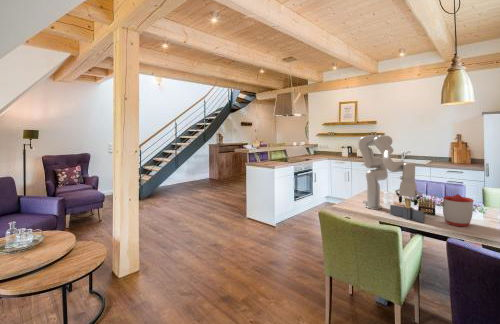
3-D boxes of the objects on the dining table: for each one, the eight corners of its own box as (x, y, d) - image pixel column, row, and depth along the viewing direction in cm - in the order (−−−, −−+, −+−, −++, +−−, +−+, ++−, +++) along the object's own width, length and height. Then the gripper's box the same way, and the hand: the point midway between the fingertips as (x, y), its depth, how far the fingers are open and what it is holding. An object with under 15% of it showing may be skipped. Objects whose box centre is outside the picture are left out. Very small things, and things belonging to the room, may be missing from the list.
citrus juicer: (439, 218, 181) (440, 190, 179) (472, 222, 170) (473, 193, 168) (438, 224, 169) (438, 194, 167) (473, 229, 158) (474, 198, 156)
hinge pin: (404, 218, 184) (404, 199, 182) (406, 217, 186) (406, 198, 184) (409, 219, 181) (409, 199, 180) (411, 218, 183) (411, 198, 182)
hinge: (387, 215, 190) (387, 205, 190) (392, 213, 195) (392, 203, 194) (423, 223, 172) (424, 212, 171) (428, 220, 176) (428, 210, 176)
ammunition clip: (417, 212, 195) (418, 197, 193) (418, 212, 196) (418, 196, 195) (434, 215, 187) (435, 199, 186) (435, 214, 188) (435, 198, 187)
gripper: (393, 179, 185) (392, 202, 187) (420, 182, 172) (419, 207, 174) (397, 178, 190) (397, 200, 192) (424, 180, 176) (423, 205, 178)
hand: (407, 203), depth 183 cm, fingers open, 9 cm apart
